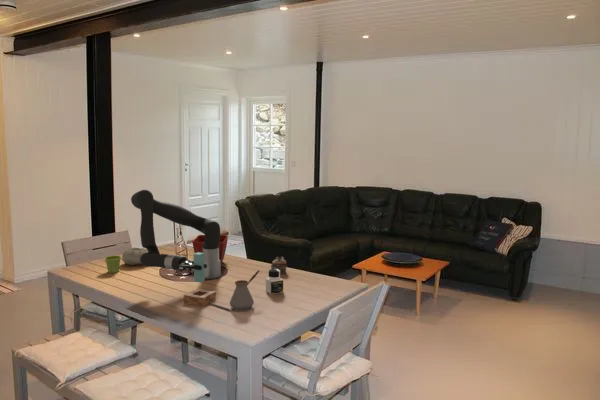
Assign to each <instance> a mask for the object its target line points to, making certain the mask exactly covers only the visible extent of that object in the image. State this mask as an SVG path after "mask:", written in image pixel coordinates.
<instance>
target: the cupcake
mask: <svg viewBox="0 0 600 400" xmlns="http://www.w3.org/2000/svg"><path fill="white" fill-rule="evenodd" d="M287 267H288V264H287V260H286V259H285V258H284V256H280V257H279V256H276V257H275V258H274V260H272V263H271V264H270V270H271V269H278V270H280V276H283V275H285V274H286V271H287Z"/></svg>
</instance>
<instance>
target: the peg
mask: <svg viewBox="0 0 600 400" xmlns="http://www.w3.org/2000/svg"><path fill="white" fill-rule="evenodd" d="M193 261H194V265H200V266H202V270H193V281H194V283H203V282H204V281H205V279H206V278H205V277H204V253H200V252H197V253H193Z"/></svg>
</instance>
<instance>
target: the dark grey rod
mask: <svg viewBox="0 0 600 400" xmlns="http://www.w3.org/2000/svg"><path fill="white" fill-rule="evenodd" d="M208 305H212V306H214V307H217V308H220V309H223V310H226V311H229V312H230V308H227V307H225V306H222V305H219V304H216V303H213V302H209V303H208Z"/></svg>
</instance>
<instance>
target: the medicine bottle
mask: <svg viewBox="0 0 600 400" xmlns="http://www.w3.org/2000/svg"><path fill="white" fill-rule="evenodd" d="M265 292H267V293H268V294H269V295H276V294H283V293H284V279H283V278H281V275H280V270H278V269H271V268H270V269H269V270H268V277H266V278H265Z"/></svg>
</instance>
